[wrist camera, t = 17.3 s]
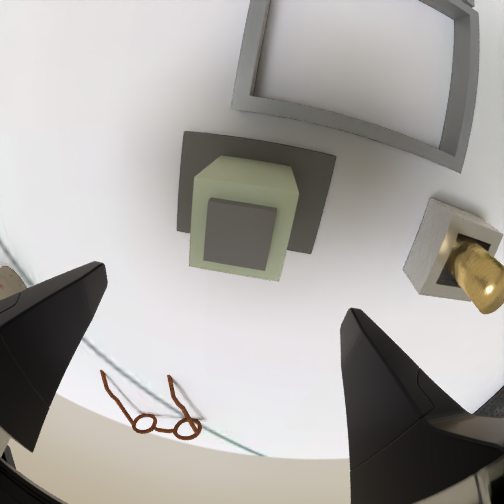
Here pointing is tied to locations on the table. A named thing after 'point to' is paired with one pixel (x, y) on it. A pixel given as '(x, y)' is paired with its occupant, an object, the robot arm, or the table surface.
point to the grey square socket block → (444, 248)
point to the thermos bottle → (9, 283)
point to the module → (242, 217)
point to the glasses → (153, 427)
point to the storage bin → (493, 407)
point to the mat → (301, 161)
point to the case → (453, 137)
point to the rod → (477, 273)
